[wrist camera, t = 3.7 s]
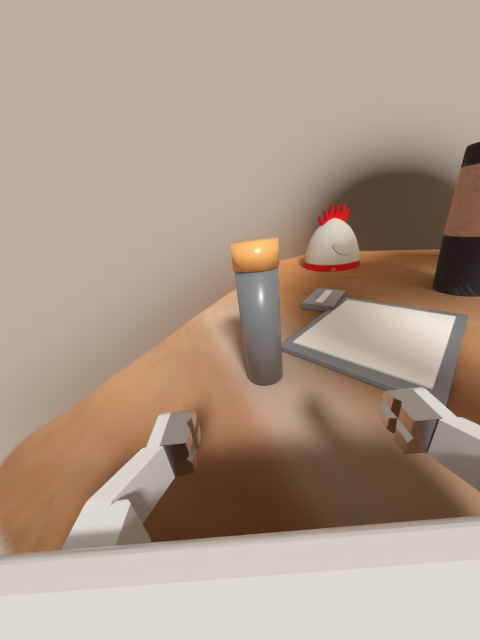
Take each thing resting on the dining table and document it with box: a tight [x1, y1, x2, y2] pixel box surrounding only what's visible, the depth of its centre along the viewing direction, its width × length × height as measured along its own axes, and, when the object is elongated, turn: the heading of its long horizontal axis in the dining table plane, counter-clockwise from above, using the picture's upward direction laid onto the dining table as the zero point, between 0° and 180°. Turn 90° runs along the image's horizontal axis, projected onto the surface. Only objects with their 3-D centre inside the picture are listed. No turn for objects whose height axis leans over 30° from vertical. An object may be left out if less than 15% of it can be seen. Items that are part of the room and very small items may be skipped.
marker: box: [230, 238, 283, 386], centre depth 20 cm, size 4×4×13 cm
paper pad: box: [281, 297, 468, 407], centre depth 27 cm, size 19×15×1 cm
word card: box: [302, 288, 346, 311], centre depth 38 cm, size 8×5×1 cm, turn 145°
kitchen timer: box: [305, 204, 360, 271], centre depth 59 cm, size 14×14×15 cm
